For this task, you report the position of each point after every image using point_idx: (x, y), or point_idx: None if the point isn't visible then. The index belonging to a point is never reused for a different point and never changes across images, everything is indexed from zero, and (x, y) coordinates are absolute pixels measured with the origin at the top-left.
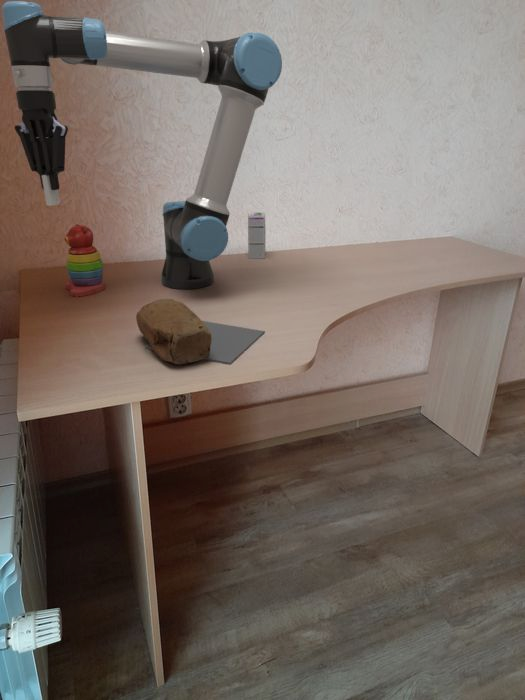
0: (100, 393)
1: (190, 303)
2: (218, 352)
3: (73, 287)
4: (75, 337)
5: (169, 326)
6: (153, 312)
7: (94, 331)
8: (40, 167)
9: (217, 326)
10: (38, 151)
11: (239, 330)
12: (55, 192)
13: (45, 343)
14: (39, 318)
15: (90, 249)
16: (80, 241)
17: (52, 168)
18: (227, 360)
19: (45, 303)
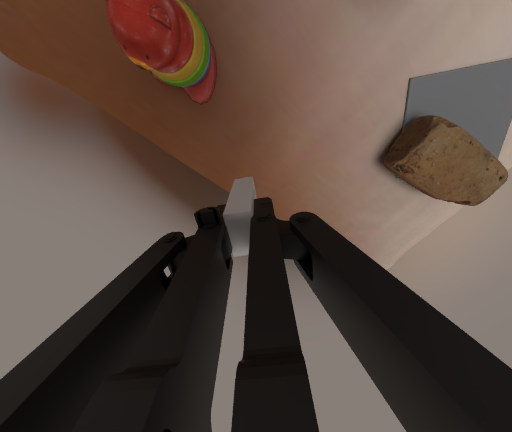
0: (400, 249)
1: (384, 4)
2: None
3: (191, 91)
4: (314, 196)
5: (465, 195)
6: (434, 178)
7: (321, 175)
8: (229, 276)
9: (461, 80)
10: (219, 341)
11: (496, 74)
12: (254, 198)
13: None
14: None
15: (187, 32)
16: (176, 50)
17: (296, 265)
18: None
19: (199, 146)
